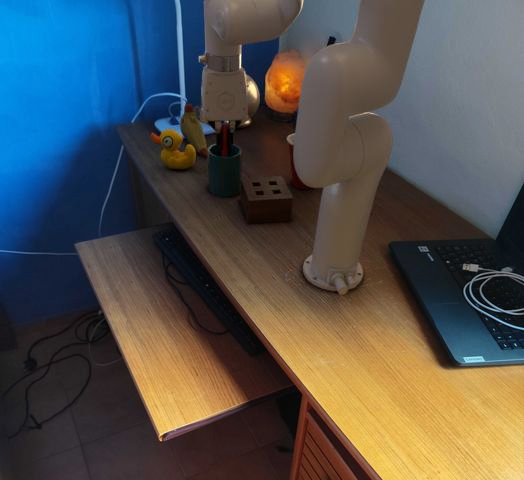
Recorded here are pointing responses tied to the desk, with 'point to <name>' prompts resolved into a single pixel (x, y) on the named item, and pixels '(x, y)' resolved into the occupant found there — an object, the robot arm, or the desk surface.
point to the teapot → (250, 100)
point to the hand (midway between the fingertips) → (224, 147)
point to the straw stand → (266, 199)
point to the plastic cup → (295, 178)
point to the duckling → (174, 150)
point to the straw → (224, 140)
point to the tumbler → (224, 170)
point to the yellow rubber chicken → (193, 130)
